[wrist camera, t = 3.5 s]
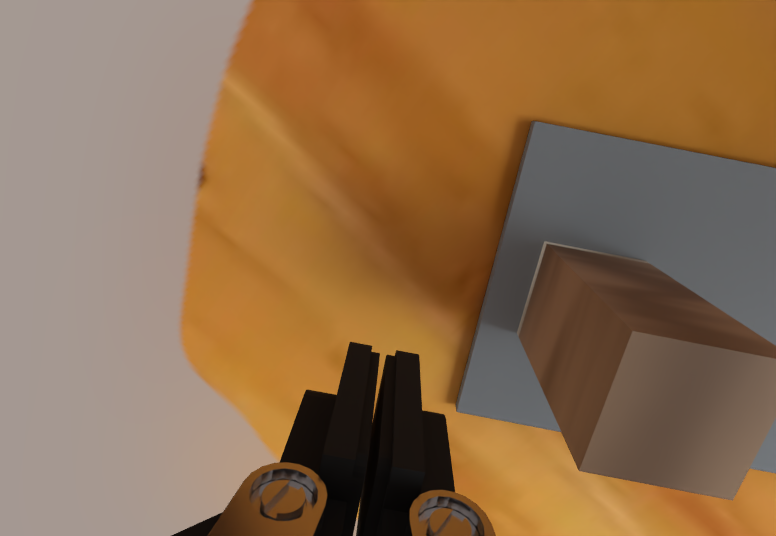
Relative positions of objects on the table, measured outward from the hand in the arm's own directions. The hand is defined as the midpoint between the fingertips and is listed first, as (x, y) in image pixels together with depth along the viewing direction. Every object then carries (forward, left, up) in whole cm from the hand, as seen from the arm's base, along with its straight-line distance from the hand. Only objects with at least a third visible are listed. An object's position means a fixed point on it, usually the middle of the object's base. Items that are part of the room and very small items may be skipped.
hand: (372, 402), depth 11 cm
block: (-8, 0, -11) cm, 14 cm away
